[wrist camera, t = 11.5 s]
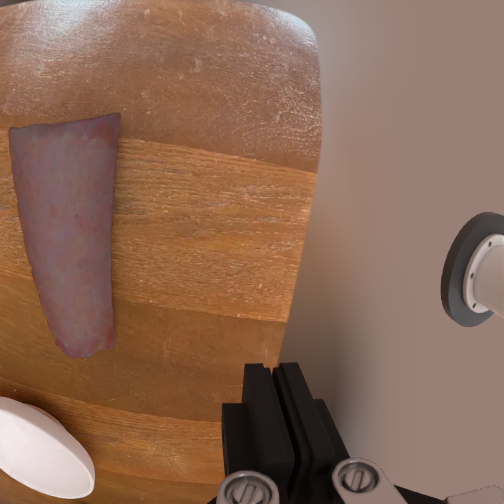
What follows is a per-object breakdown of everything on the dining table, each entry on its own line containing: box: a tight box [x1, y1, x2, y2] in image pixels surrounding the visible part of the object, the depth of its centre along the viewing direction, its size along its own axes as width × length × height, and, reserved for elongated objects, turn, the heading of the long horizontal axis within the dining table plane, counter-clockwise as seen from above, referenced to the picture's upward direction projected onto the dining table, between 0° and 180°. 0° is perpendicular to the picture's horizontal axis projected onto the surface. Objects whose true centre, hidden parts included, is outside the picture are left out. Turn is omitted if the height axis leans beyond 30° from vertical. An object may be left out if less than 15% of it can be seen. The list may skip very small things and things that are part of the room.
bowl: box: [0, 396, 95, 499], centre depth 29 cm, size 20×20×7 cm
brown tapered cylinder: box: [9, 113, 121, 358], centre depth 23 cm, size 21×9×9 cm, turn 1°
